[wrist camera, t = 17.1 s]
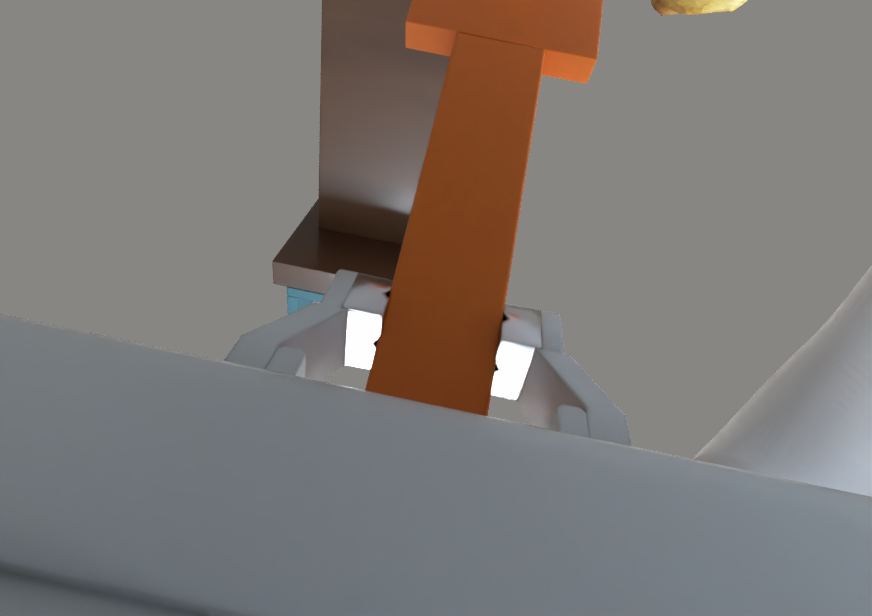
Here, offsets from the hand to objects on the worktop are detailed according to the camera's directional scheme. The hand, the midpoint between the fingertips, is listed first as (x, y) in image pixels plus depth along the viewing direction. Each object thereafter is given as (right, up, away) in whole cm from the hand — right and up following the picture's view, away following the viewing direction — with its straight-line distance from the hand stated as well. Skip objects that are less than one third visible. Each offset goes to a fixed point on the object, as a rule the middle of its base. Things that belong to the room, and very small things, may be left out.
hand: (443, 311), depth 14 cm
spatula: (+1, +6, +2) cm, 7 cm away
